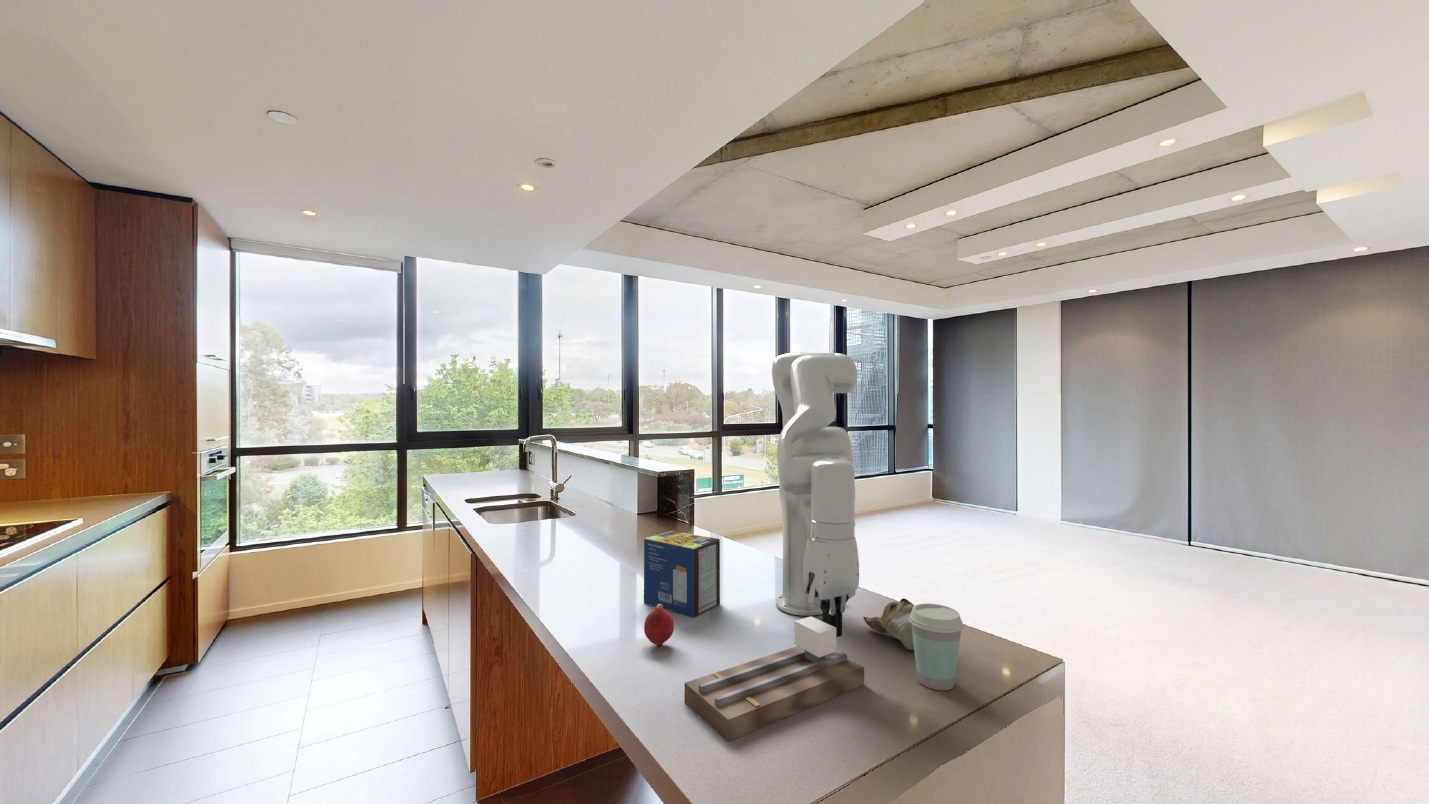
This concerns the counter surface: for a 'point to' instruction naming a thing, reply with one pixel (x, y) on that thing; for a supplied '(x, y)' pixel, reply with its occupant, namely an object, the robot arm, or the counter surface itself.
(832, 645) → the white block
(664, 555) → the protein box
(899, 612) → the ceramic sculpture
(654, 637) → the onion
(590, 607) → the counter surface
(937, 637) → the coffee cup
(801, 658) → the linear slide rail
